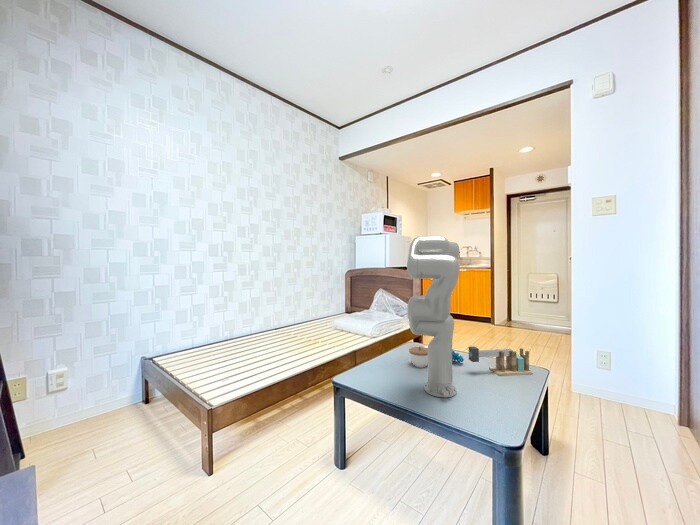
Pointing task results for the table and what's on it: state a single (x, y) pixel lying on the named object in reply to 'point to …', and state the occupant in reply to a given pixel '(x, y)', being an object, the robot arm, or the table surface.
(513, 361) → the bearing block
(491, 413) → the table surface
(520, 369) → the block
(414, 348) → the lidded jar
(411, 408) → the table surface
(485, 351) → the grey mallet
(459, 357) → the blue coral
